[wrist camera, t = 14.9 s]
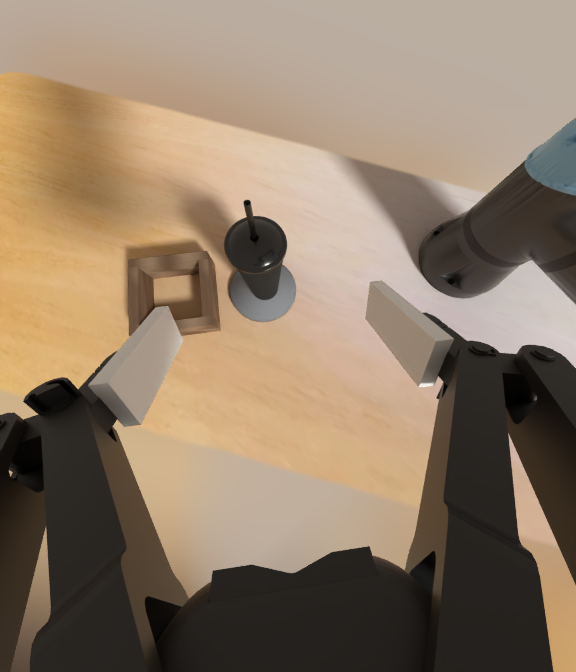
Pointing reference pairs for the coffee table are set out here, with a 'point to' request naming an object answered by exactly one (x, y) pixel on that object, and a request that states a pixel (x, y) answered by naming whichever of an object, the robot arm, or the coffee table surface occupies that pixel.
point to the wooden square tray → (170, 266)
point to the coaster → (263, 308)
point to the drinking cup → (257, 252)
